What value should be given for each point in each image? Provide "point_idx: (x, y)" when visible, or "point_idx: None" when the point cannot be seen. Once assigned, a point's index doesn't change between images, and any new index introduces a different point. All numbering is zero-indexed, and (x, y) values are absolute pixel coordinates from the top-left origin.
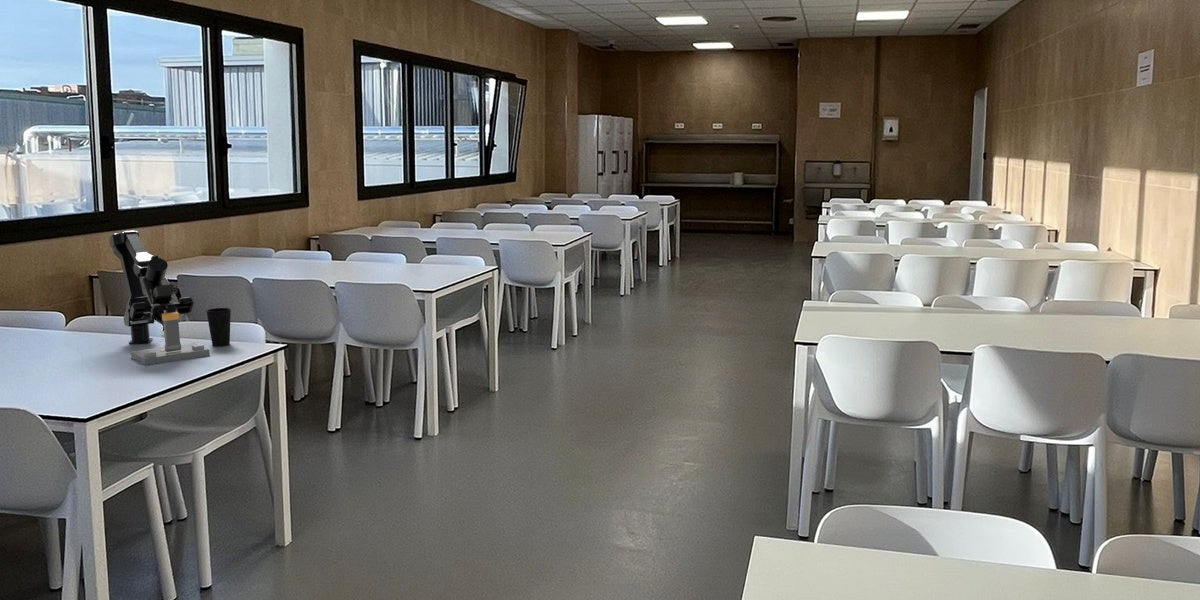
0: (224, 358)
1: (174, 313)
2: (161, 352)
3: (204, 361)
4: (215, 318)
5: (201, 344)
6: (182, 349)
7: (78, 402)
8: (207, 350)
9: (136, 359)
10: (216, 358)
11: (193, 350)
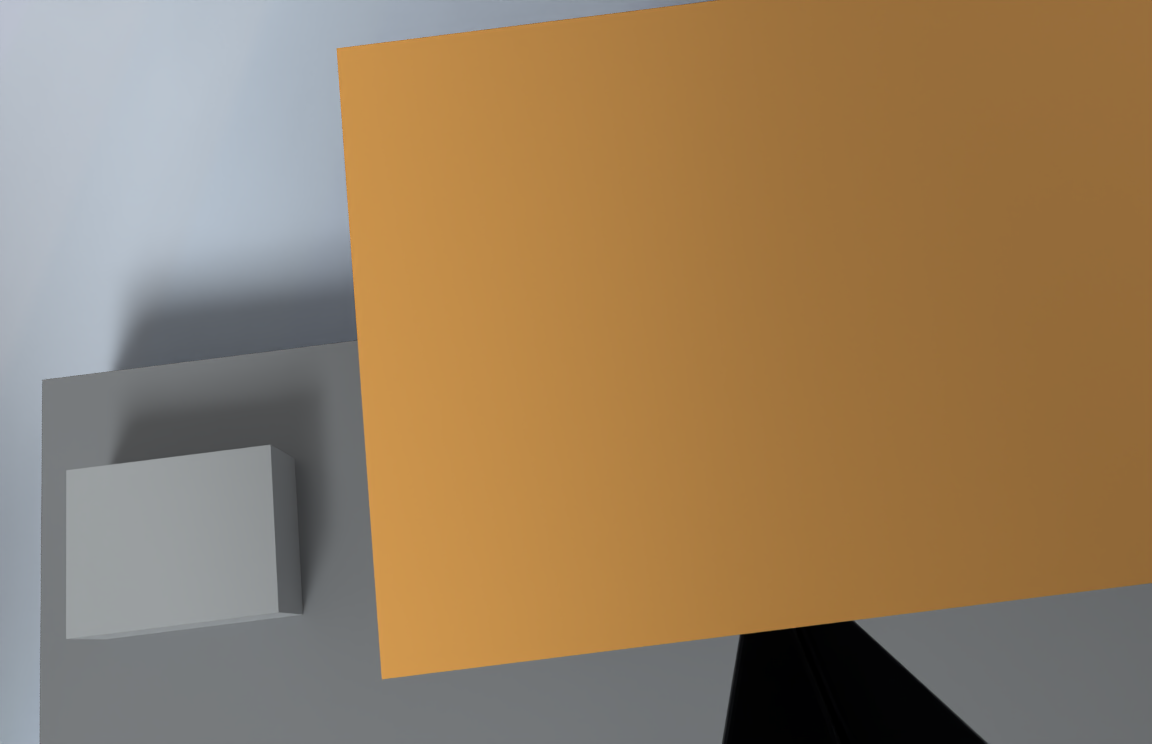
0: (4, 53)
1: (656, 43)
2: (922, 652)
3: (320, 19)
4: None
5: (75, 595)
6: (478, 705)
7: None
8: (88, 381)
9: None
10: (100, 121)
11: (321, 453)
